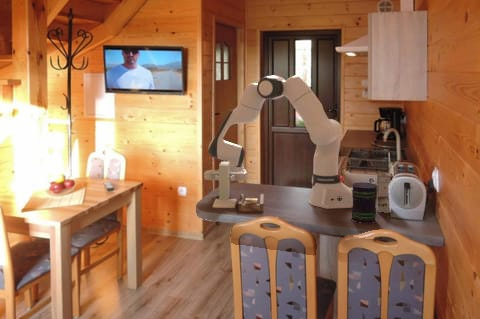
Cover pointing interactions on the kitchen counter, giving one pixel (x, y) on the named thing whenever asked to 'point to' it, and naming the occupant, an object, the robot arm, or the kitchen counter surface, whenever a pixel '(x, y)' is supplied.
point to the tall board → (224, 180)
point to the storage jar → (364, 202)
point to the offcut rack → (251, 205)
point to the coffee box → (383, 192)
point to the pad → (224, 203)
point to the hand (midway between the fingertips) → (224, 178)
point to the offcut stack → (251, 201)
